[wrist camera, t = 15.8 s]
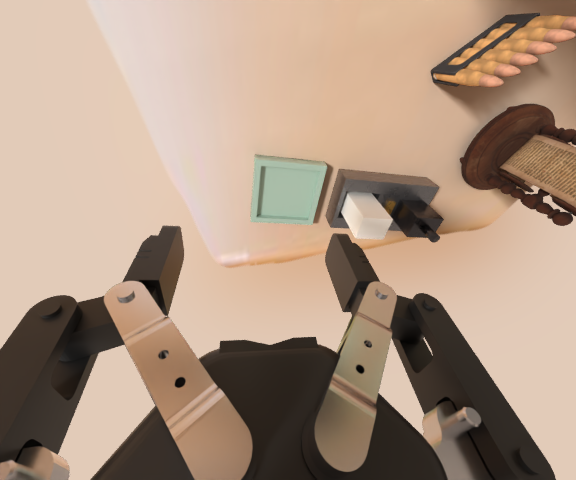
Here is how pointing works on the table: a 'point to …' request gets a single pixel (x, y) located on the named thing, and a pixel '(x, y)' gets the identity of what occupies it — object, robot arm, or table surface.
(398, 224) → the grey charging dock
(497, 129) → the turned wooden stand
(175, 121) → the table surface
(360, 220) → the plug
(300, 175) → the tray
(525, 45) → the ammunition clip
